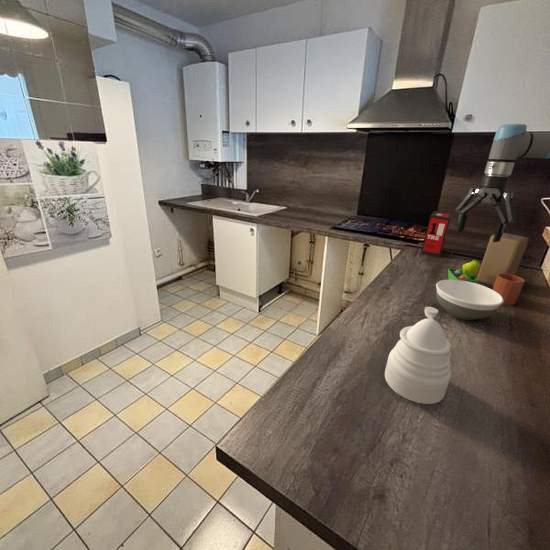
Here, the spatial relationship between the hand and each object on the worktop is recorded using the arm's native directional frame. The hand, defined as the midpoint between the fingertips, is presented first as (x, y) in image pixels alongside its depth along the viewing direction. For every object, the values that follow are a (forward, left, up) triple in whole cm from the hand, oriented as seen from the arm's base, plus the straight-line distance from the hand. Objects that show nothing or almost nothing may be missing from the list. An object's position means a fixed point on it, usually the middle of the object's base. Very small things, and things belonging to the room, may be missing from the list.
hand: (476, 236), depth 107 cm
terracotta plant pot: (-14, +1, -21) cm, 25 cm away
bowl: (-4, +23, -21) cm, 31 cm away
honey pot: (-1, +67, -21) cm, 70 cm away
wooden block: (-10, -16, -21) cm, 29 cm away
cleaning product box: (+20, -44, -21) cm, 53 cm away
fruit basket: (0, -2, -21) cm, 22 cm away
